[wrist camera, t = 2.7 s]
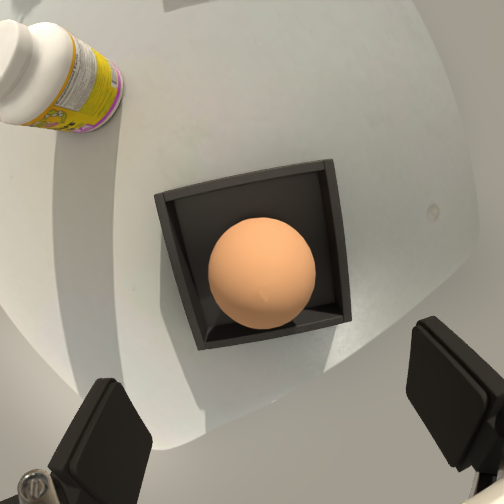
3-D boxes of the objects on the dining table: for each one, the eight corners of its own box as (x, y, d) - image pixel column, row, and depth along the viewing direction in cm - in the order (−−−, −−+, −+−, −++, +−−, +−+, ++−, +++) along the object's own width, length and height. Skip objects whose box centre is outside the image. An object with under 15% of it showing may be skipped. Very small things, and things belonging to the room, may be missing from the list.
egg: (203, 277, 24) (182, 336, 15) (232, 197, 22) (223, 214, 13) (282, 304, 24) (299, 370, 16) (315, 228, 23) (355, 263, 14)
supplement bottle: (50, 121, 20) (-58, 108, 8) (82, 55, 18) (-9, 3, 6) (104, 145, 21) (-9, 135, 9) (140, 72, 19) (55, 3, 7)
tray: (322, 159, 22) (333, 158, 19) (342, 306, 25) (352, 321, 22) (164, 191, 22) (153, 194, 19) (202, 333, 25) (197, 350, 23)
